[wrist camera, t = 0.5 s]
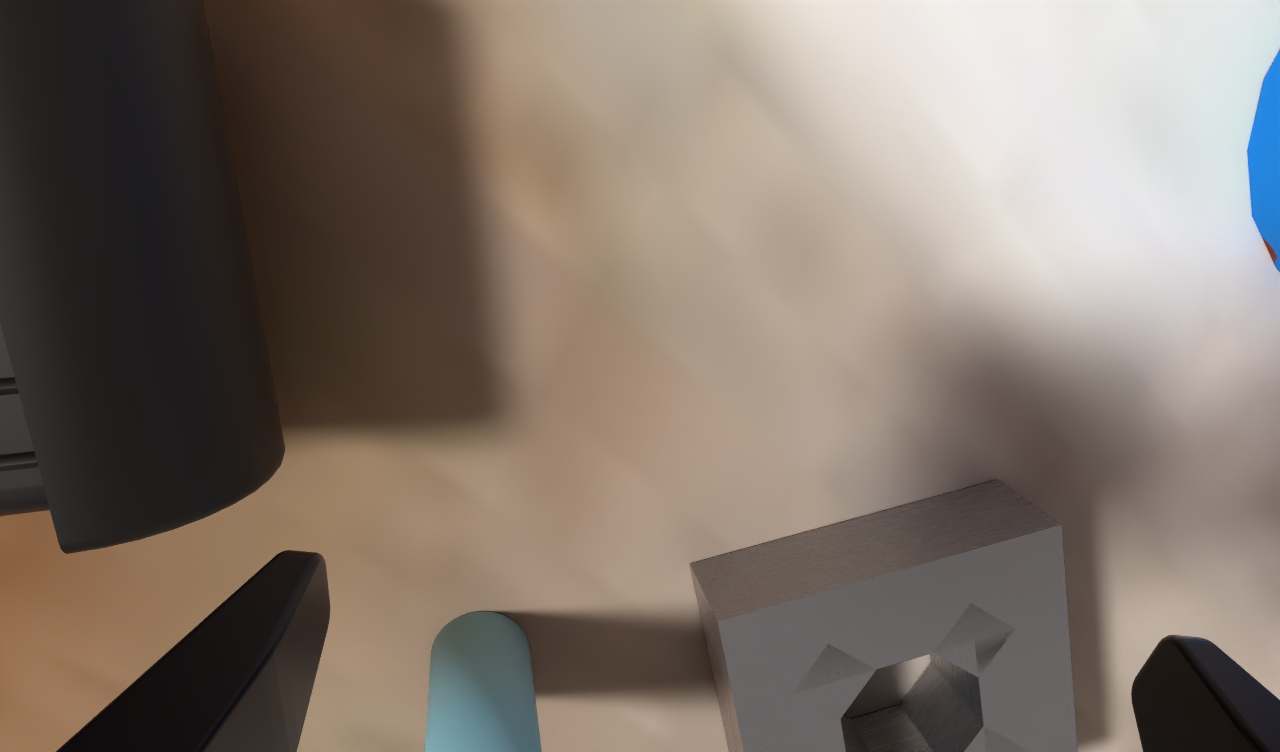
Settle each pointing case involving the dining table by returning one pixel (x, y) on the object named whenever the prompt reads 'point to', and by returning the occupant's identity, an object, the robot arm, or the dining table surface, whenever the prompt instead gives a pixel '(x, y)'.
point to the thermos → (1267, 162)
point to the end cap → (123, 277)
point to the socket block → (897, 630)
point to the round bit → (481, 688)
